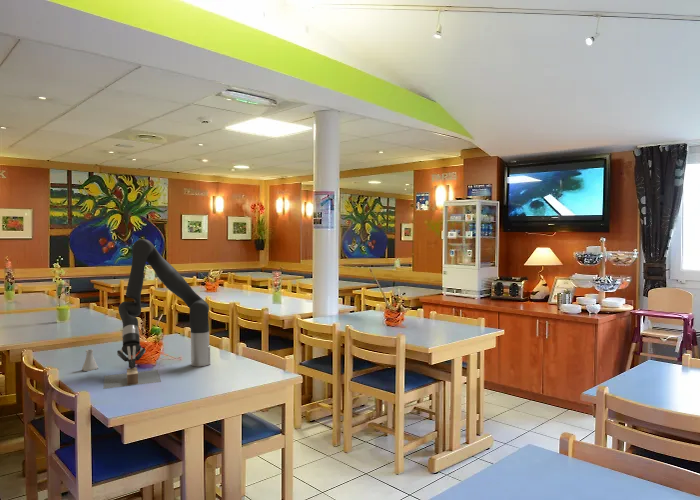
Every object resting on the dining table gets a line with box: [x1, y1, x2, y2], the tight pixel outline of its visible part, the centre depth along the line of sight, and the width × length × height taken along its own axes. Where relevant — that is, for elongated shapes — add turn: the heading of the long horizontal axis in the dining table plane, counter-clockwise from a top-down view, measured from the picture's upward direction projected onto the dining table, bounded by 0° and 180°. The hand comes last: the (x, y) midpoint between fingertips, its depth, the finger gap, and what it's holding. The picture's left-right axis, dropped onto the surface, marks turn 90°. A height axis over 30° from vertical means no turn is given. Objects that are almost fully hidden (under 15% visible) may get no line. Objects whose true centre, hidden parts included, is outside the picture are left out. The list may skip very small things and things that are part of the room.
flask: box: [81, 349, 99, 372], centre depth 258 cm, size 7×7×10 cm
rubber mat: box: [102, 369, 162, 390], centre depth 240 cm, size 24×22×1 cm
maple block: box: [126, 367, 139, 385], centre depth 237 cm, size 4×4×12 cm
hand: (132, 367), depth 237 cm, fingers closed
